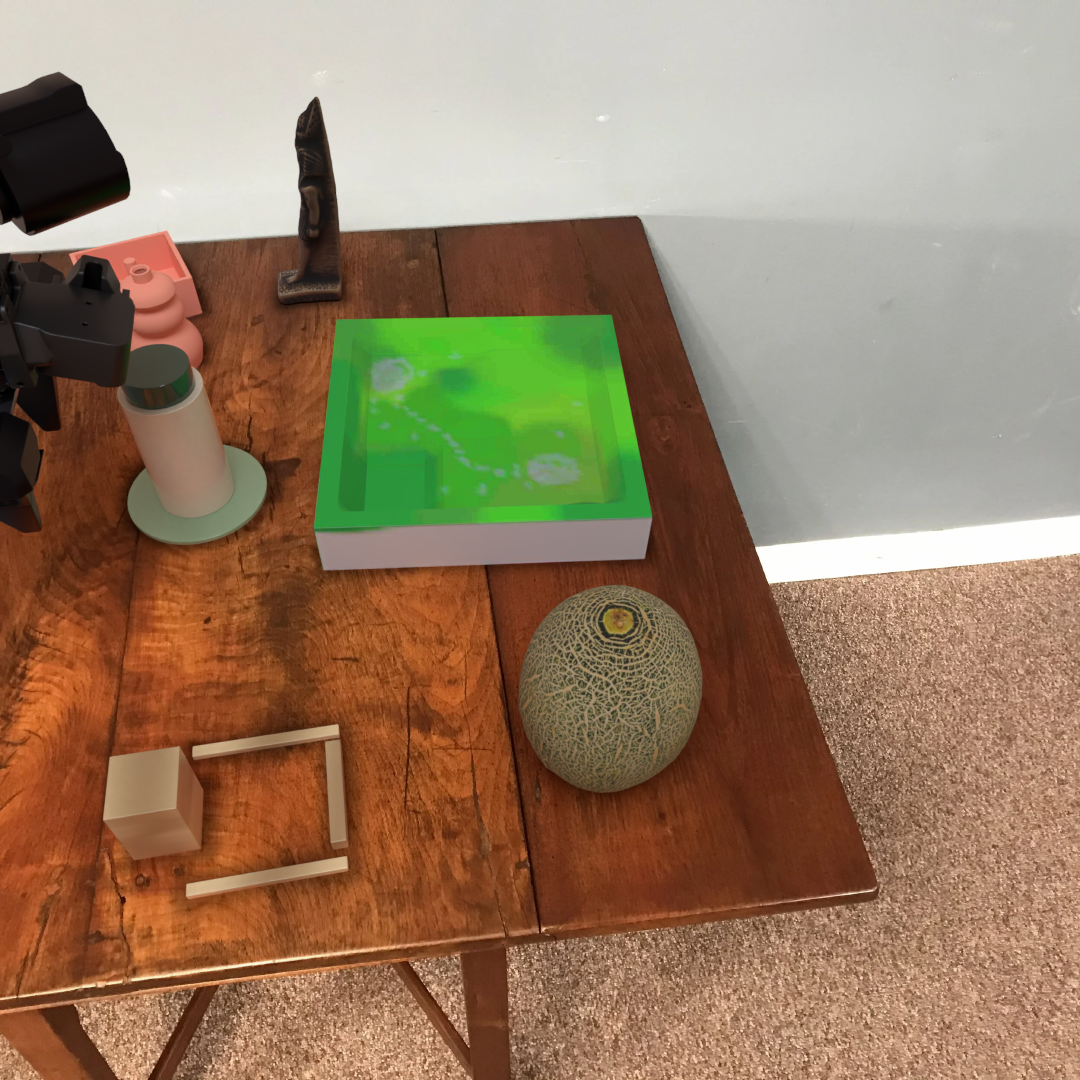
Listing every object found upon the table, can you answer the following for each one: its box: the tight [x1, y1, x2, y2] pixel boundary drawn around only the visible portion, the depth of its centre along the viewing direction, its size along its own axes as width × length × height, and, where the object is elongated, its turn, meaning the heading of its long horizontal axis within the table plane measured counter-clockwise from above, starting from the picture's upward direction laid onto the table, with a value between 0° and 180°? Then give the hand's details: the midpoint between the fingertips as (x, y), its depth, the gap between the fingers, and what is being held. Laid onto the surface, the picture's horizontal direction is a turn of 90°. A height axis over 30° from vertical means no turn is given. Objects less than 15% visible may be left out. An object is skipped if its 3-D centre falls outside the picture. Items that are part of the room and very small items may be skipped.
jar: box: [116, 344, 235, 518], centre depth 72 cm, size 13×6×13 cm
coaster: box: [126, 444, 268, 546], centre depth 77 cm, size 11×11×1 cm
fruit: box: [518, 584, 703, 794], centre depth 58 cm, size 11×11×15 cm
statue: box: [277, 96, 344, 305], centre depth 88 cm, size 4×7×20 cm, turn 100°
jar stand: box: [102, 723, 350, 900], centre depth 57 cm, size 13×10×6 cm
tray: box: [313, 314, 653, 571], centre depth 79 cm, size 25×25×5 cm
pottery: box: [68, 230, 204, 370], centre depth 87 cm, size 18×10×10 cm, turn 29°
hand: (43, 477), depth 60 cm, fingers open, 9 cm apart
